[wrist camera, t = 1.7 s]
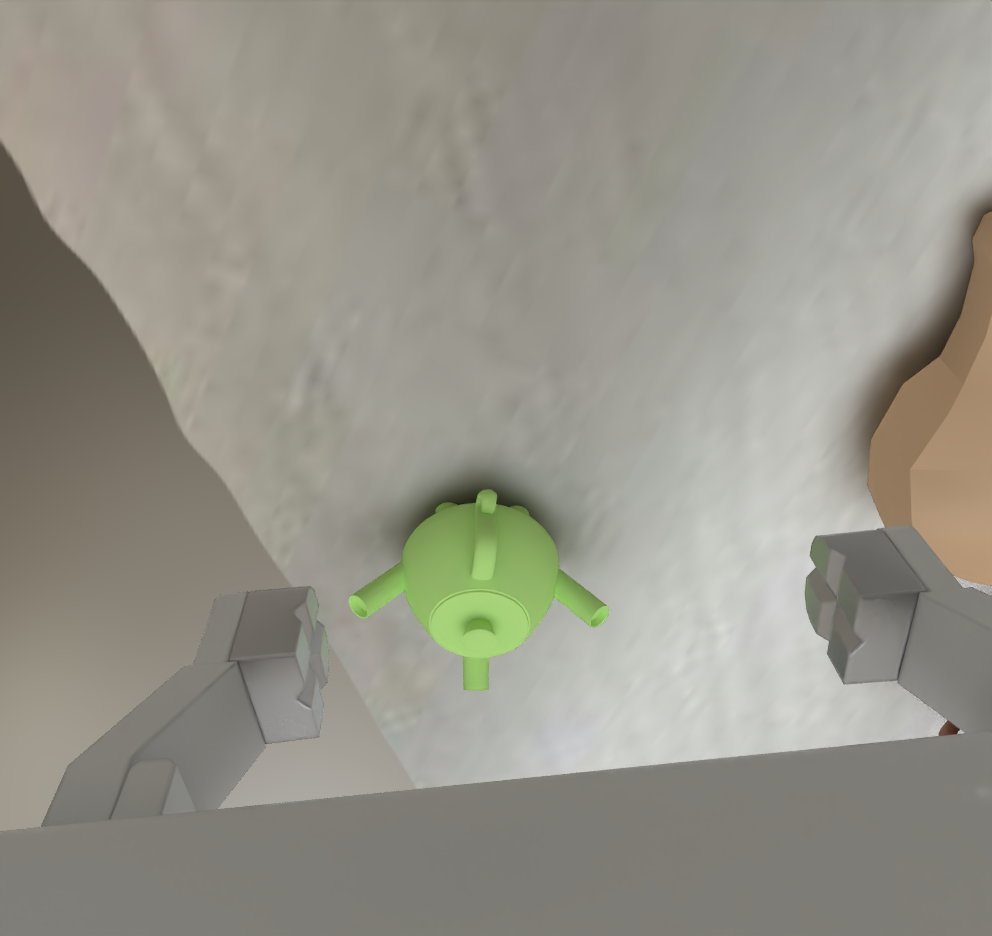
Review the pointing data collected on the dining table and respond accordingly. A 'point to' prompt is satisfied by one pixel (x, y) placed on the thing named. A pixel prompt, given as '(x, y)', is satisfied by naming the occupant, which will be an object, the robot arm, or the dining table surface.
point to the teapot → (479, 582)
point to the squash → (946, 438)
